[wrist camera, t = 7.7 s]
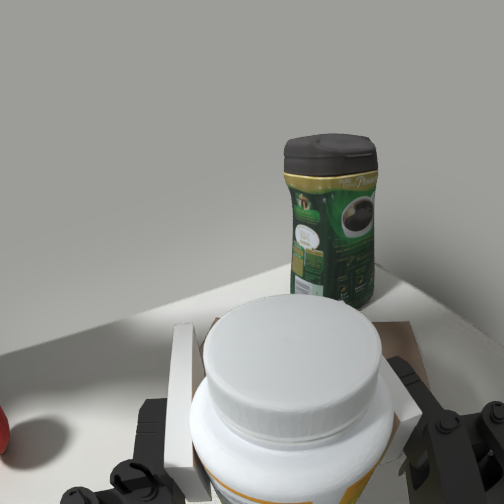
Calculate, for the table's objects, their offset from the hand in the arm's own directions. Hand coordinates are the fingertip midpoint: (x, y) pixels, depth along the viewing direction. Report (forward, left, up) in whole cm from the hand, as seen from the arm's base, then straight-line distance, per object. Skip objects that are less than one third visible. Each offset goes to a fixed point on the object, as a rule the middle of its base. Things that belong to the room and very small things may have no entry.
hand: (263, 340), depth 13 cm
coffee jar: (+4, +21, -11) cm, 24 cm away
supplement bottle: (+2, -5, -6) cm, 8 cm away
